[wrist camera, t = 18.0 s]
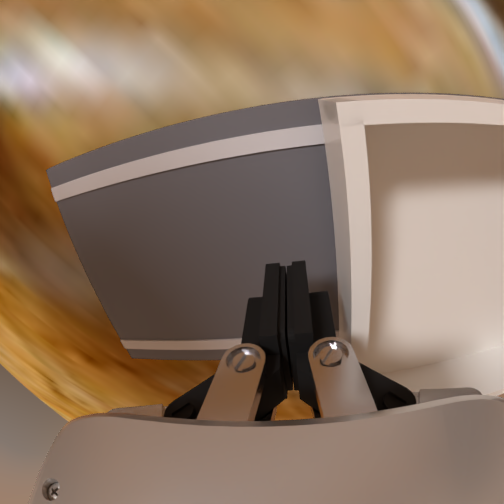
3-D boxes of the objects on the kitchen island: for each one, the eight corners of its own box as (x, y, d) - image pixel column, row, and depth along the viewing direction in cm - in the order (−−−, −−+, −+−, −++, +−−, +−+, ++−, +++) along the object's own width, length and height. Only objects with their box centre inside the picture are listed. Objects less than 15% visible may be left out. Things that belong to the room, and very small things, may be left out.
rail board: (136, 348, 21) (131, 359, 20) (56, 164, 15) (44, 170, 14) (552, 295, 15) (559, 304, 14) (582, 115, 8) (593, 118, 7)
